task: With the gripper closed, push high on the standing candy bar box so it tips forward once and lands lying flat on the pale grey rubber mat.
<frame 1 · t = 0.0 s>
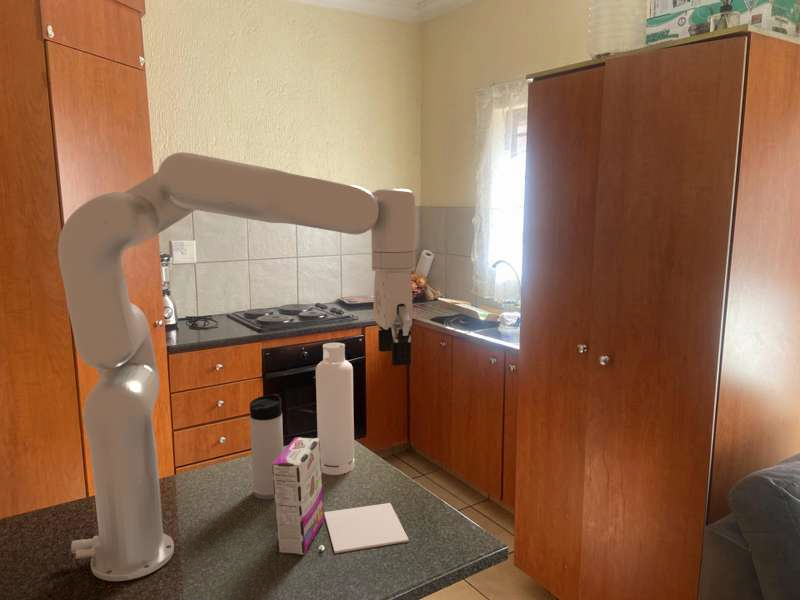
hand: (394, 357, 103), 31 cm above the countertop, tool pointing down, fingers open, 9 cm apart
bottle: (336, 467, 131), on the countertop
travel mug: (270, 493, 119), on the countertop
candy bar box: (301, 537, 103), on the countertop
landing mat: (364, 527, 106), on the countertop
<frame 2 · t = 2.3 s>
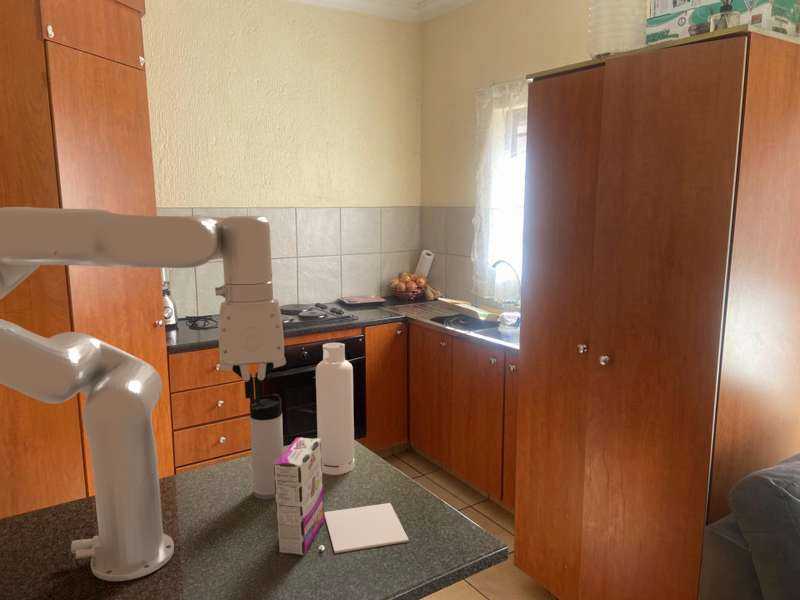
hand: (255, 401, 97), 26 cm above the countertop, tool pointing down, fingers closed
nothing on the countertop moved.
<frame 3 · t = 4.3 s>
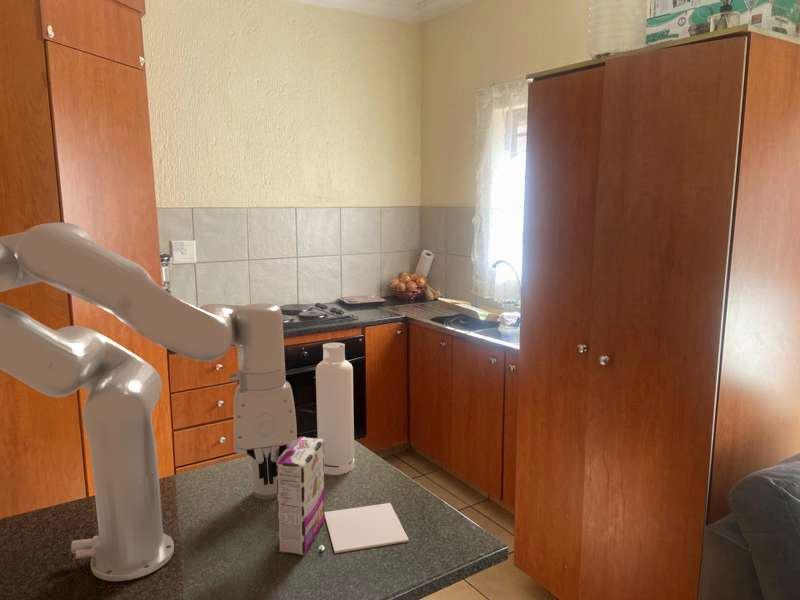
hand: (268, 480, 100), 11 cm above the countertop, tool pointing down, fingers closed
candy bar box: (301, 537, 103), on the countertop, touching gripper
everything else where it was.
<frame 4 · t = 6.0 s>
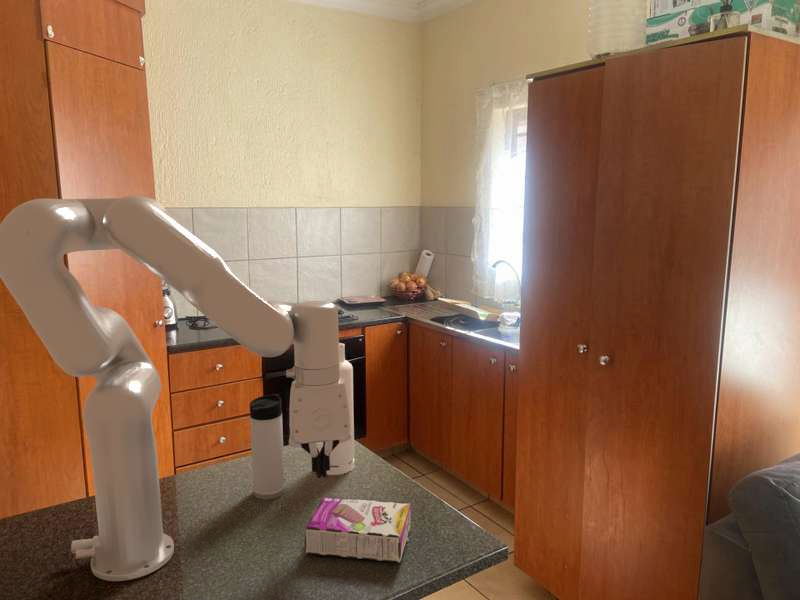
hand: (321, 474, 102), 11 cm above the countertop, tool pointing down, fingers closed
candy bar box: (312, 522, 102), point 3 cm above the countertop, touching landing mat
everything else where it was.
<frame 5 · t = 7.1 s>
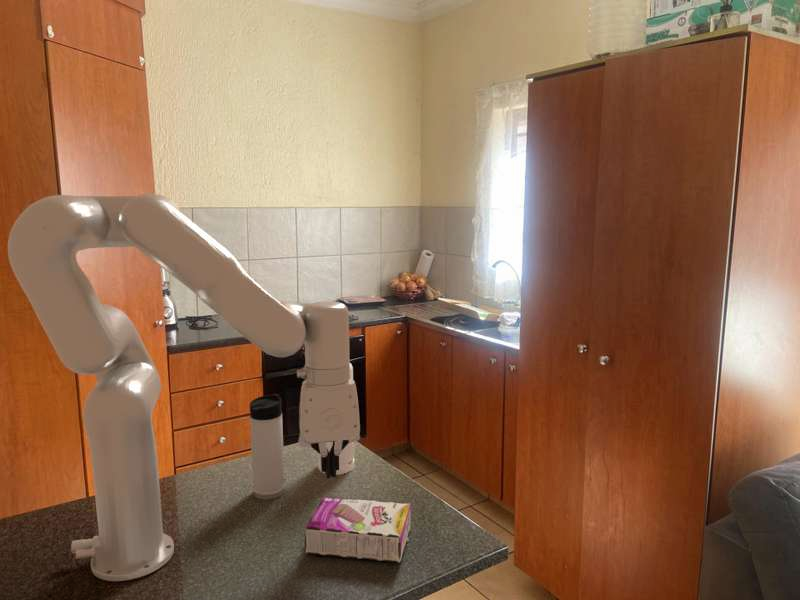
hand: (330, 474, 103), 11 cm above the countertop, tool pointing down, fingers closed
nothing on the countertop moved.
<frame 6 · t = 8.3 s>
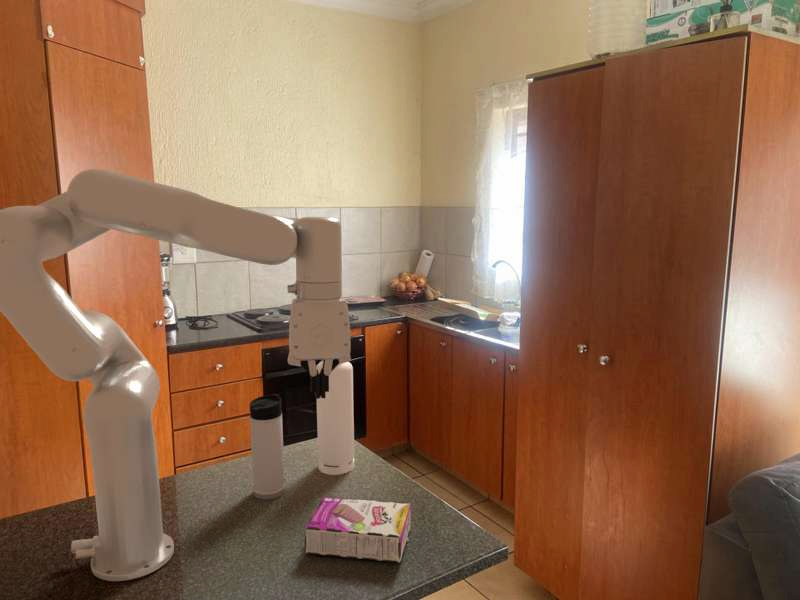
hand: (319, 395, 101), 25 cm above the countertop, tool pointing down, fingers closed
nothing on the countertop moved.
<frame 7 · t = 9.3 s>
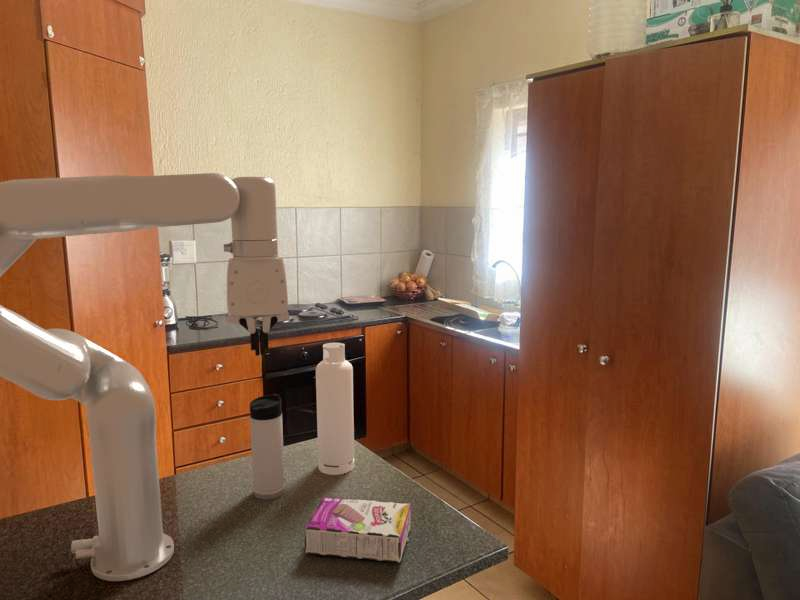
hand: (259, 353, 103), 32 cm above the countertop, tool pointing down, fingers closed
nothing on the countertop moved.
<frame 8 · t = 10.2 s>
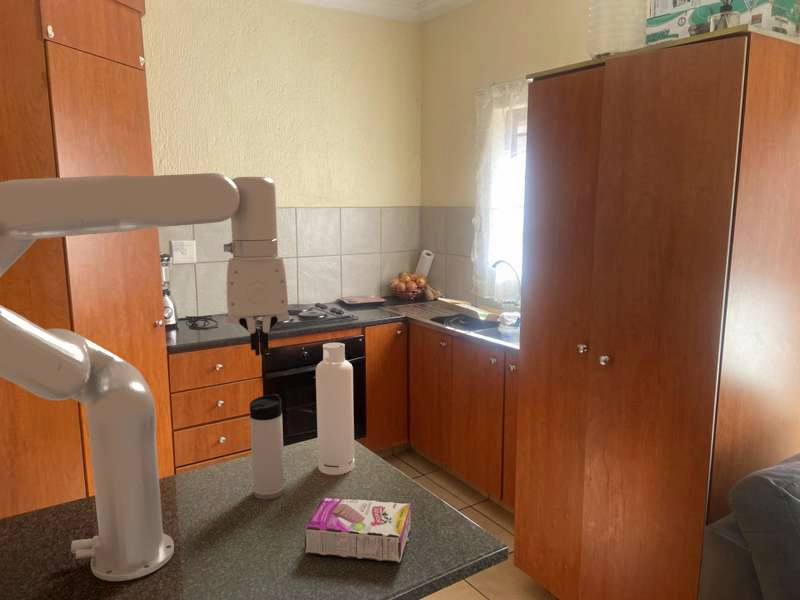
hand: (259, 353, 103), 32 cm above the countertop, tool pointing down, fingers closed
nothing on the countertop moved.
at the end: candy bar box tilted 91°; candy bar box touching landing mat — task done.
